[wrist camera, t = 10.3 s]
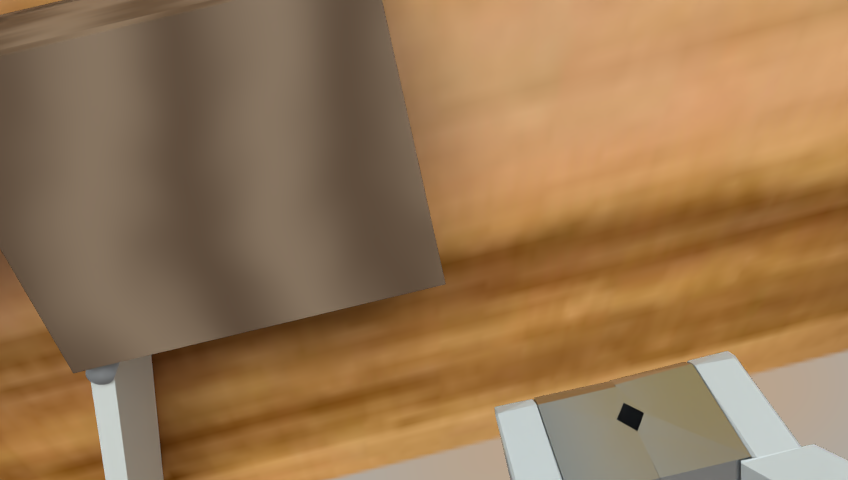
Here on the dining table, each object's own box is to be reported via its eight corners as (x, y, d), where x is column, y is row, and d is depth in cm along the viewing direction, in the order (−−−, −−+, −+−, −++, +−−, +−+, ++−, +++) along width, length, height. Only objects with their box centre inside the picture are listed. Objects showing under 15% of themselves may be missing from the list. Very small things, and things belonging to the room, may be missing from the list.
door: (165, 476, 46) (142, 584, 40) (129, 477, 46) (100, 586, 39) (146, 271, 39) (113, 363, 32) (103, 271, 38) (61, 363, 32)
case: (360, -70, 32) (374, -33, 25) (420, 193, 39) (445, 284, 31) (-6, 16, 32) (-100, 79, 25) (118, 265, 39) (73, 373, 31)
